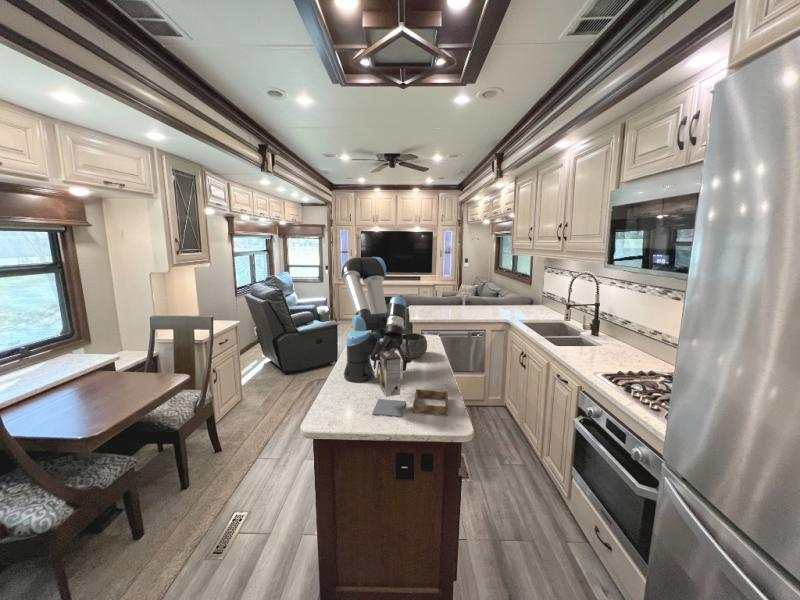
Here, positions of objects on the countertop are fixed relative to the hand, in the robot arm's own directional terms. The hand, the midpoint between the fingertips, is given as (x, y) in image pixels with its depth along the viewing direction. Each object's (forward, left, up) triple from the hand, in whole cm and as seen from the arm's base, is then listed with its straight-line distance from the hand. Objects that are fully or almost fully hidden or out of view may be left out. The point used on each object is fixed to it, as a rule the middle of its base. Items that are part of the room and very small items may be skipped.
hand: (388, 377), depth 129 cm
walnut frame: (+17, +8, -15) cm, 24 cm away
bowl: (+3, +64, -15) cm, 66 cm away
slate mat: (0, +3, -15) cm, 16 cm away
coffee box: (0, +3, -8) cm, 8 cm away
